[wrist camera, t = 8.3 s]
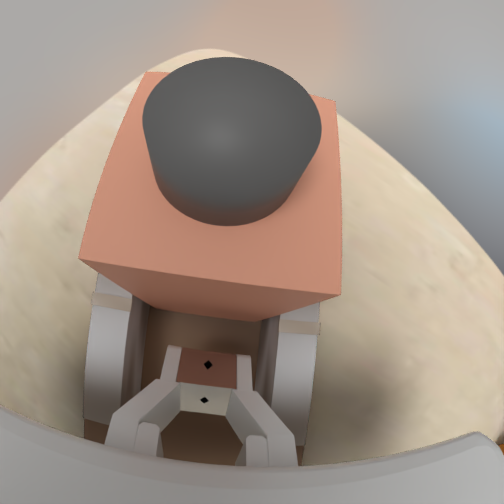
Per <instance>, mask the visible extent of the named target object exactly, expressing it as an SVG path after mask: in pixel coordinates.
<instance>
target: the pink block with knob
mask: <svg viewBox="0 0 504 504" xmlns="http://www.w3.org/2000/svg"><path fill="white" fill-rule="evenodd" d="M78 259H80V260H81V261H83V262H84V263H86V264H87V265H88V266H90V267H91V268H93V269H94V270H96V271H97V272H99V273H100V274H102V275H103V276H105V277H106V278H108V279H109V280H111V281H112V282H114V283H115V284H117V285H119V286H120V287H122V288H123V289H125V290H126V291H128V292H130V293H131V294H133V295H134V296H136V297H138V298H139V299H141V300H142V301H144V302H146V303H147V304H149V305H151V306H152V307H154V308H156V309H161V310H167V311H173V312H180V313H187V314H194V315H201V316H208V317H216V318H224V319H232V320H240V321H249V322H257V321H260V320H263V319H267V318H270V317H274V316H277V315H280V314H283V313H287V312H290V311H293V310H296V309H300V308H303V307H306V306H309V305H312V304H315V303H318V302H321V301H324V300H327V299H330V298H333V297H336V296H339V295H341V273H342V199H341V172H340V153H339V138H338V125H337V114H336V104H335V101H333V100H329V99H325V98H321V97H318V96H314V95H310V94H308V93H307V91H306V90H305V89H304V88H303V87H302V86H301V85H300V84H299V83H298V82H297V81H295V80H294V79H293V78H292V77H290V76H289V75H287V74H285V73H284V72H282V71H280V70H278V69H276V68H274V67H272V66H269V65H267V64H264V63H261V62H257V61H254V60H249V59H244V58H235V57H219V58H209V59H204V60H199V61H195V62H192V63H190V64H187V65H184V66H182V67H180V68H178V69H176V70H174V71H173V72H171V73H166V72H145V74H144V76H143V78H142V80H141V82H140V84H139V86H138V88H137V90H136V92H135V94H134V97H133V99H132V101H131V103H130V105H129V107H128V109H127V112H126V114H125V116H124V119H123V121H122V123H121V126H120V128H119V130H118V133H117V135H116V138H115V140H114V143H113V145H112V148H111V150H110V153H109V156H108V158H107V161H106V164H105V167H104V170H103V172H102V175H101V178H100V181H99V184H98V187H97V190H96V193H95V197H94V200H93V203H92V207H91V210H90V213H89V217H88V221H87V224H86V228H85V232H84V236H83V240H82V244H81V248H80V252H79V256H78Z"/></svg>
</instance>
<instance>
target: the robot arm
mask: <svg viewBox="0 0 504 504" xmlns="http://www.w3.org/2000/svg"><path fill="white" fill-rule="evenodd" d="M180 410H182V411H190V412H200V413H208V414H215V415H223V416H226V418H227V420H228V422H229V423H230V425H231V426H232V428H233V430H234V431H235V433H236V434H237V436H238V438H239V439H240V441H241V442H242V444H243V446H242V449H241V451H240V453H239V455H238V458H237V460H236V462H235V466H229V465H216V464H205V463H196V462H188V461H181V460H174V459H168V458H163V448H162V441H161V434H160V433H161V432H162V431H163V430H164V428H165V427H166V426H167V425H168V424H169V423H170V422H171V421H172V420H173V419H174V418H175V416H176V415H177V414H178V413H179V412H180ZM0 504H504V455H503V453H502V451H501V449H500V447H499V446H498V445H497V444H496V443H495V442H493V441H492V440H491V439H489V438H488V437H487V436H486V435H484V434H482V433H481V432H479V431H474V432H470V433H467V434H464V435H461V436H459V437H456V438H453V439H449V440H446V441H443V442H440V443H436V444H433V445H429V446H425V447H422V448H418V449H414V450H410V451H405V452H401V453H396V454H392V455H387V456H381V457H376V458H370V459H364V460H357V461H350V462H342V463H333V464H322V465H309V466H298V461H297V454H296V446H295V439H294V435H293V434H292V432H291V431H290V430H289V429H288V428H287V427H286V426H285V424H284V423H283V422H282V421H281V420H280V419H279V417H278V416H277V415H276V414H275V413H274V412H273V410H272V409H271V408H270V407H269V406H268V404H267V403H266V402H265V401H264V400H263V398H262V397H261V396H260V395H259V393H258V392H257V391H253V387H252V367H251V357H250V355H240V354H231V353H221V352H212V351H203V350H197V349H191V348H185V347H178V346H173V345H168V347H167V351H166V355H165V359H164V364H163V368H162V373H161V377H160V379H155V380H154V381H153V382H152V383H150V384H149V385H148V386H147V387H145V388H144V389H143V390H142V391H141V392H139V393H138V394H137V395H136V396H134V397H133V398H132V399H131V400H129V401H128V402H127V403H126V404H124V405H123V406H122V407H121V408H119V409H118V410H117V411H116V412H114V413H113V415H112V418H111V422H110V425H109V429H108V433H107V436H106V440H105V444H100V443H97V442H93V441H90V440H87V439H84V438H81V437H78V436H75V435H72V434H69V433H66V432H63V431H60V430H58V429H55V428H52V427H50V426H47V425H45V424H42V423H40V422H37V421H35V420H32V419H30V418H28V417H26V416H23V415H21V414H19V413H17V412H15V411H13V410H11V409H8V408H6V407H4V406H2V405H0Z"/></svg>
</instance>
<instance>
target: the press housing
mask: <svg viewBox="0 0 504 504" xmlns="http://www.w3.org/2000/svg"><path fill="white" fill-rule="evenodd" d="M91 304H92V305H93V307H92V313H91V320H90V328H89V336H88V345H87V354H86V366H85V379H84V399H83V418H84V439H87V440H90V441H93V442H97V443H100V444H105V440H106V436H107V433H108V429H109V425H110V422H111V418H112V415H113V413H114V412H116V411H117V410H118V409H119V408H121V407H122V406H123V405H124V404H126V403H127V402H128V401H129V400H131V399H132V398H133V397H134V396H136V395H137V394H138V393H139V392H141V391H142V390H143V389H144V388H145V387H147V386H148V385H149V384H150V383H152V382H153V381H154V380H155V379H160V377H161V373H162V368H163V364H164V359H165V355H166V351H167V347H168V345H173V346H178V347H185V348H191V349H197V350H203V351H212V352H221V353H231V354H240V355H250V357H251V367H252V387H253V391H257V392H258V393H259V395H260V396H261V397H262V398H263V400H264V401H265V402H266V403H267V404H268V406H269V407H270V408H271V409H272V410H273V412H274V413H275V414H276V415H277V416H278V417H279V419H280V420H281V421H282V422H283V423H284V424H285V426H286V427H287V428H288V429H289V430H290V431H291V432H292V434H293V435H294V439H295V446H296V454H297V461H298V466H301V463H302V456H303V450H304V445H305V441H306V435H307V427H308V420H309V412H310V404H311V396H312V387H313V378H314V368H315V358H316V347H317V335H320V323H318V322H319V307H320V302H318V303H315V304H312V305H309V306H306V307H303V308H300V309H296V310H293V311H290V312H287V313H283V314H280V315H277V316H274V317H270V318H267V319H263V320H260V321H257V322H249V321H240V320H232V319H224V318H216V317H208V316H201V315H194V314H187V313H180V312H173V311H167V310H161V309H156V308H154V307H152V306H151V305H149V304H147V303H146V302H144V301H142V300H141V299H139V298H138V297H136V296H134V295H133V294H131V293H130V292H128V291H126V290H125V289H123V288H122V287H120V286H119V285H117V284H115V283H114V282H112V281H111V280H109V279H108V278H106V277H105V276H103V275H102V274H100V273H98V278H97V283H96V289H95V292H93V294H92V300H91ZM160 434H161V441H162V448H163V458H168V459H174V460H181V461H188V462H196V463H205V464H216V465H229V466H235V462H236V460H237V458H238V455H239V453H240V451H241V449H242V446H243V444H242V442H241V441H240V439H239V438H238V436H237V434H236V433H235V431H234V430H233V428H232V426H231V425H230V423H229V422H228V420H227V418H226V416H223V415H215V414H208V413H200V412H190V411H182V410H180V412H179V413H178V414H177V415H176V416H175V418H174V419H173V420H172V421H171V422H170V423H169V424H168V425H167V426H166V427H165V428H164V430H163V431H162V432H161V433H160Z"/></svg>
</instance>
